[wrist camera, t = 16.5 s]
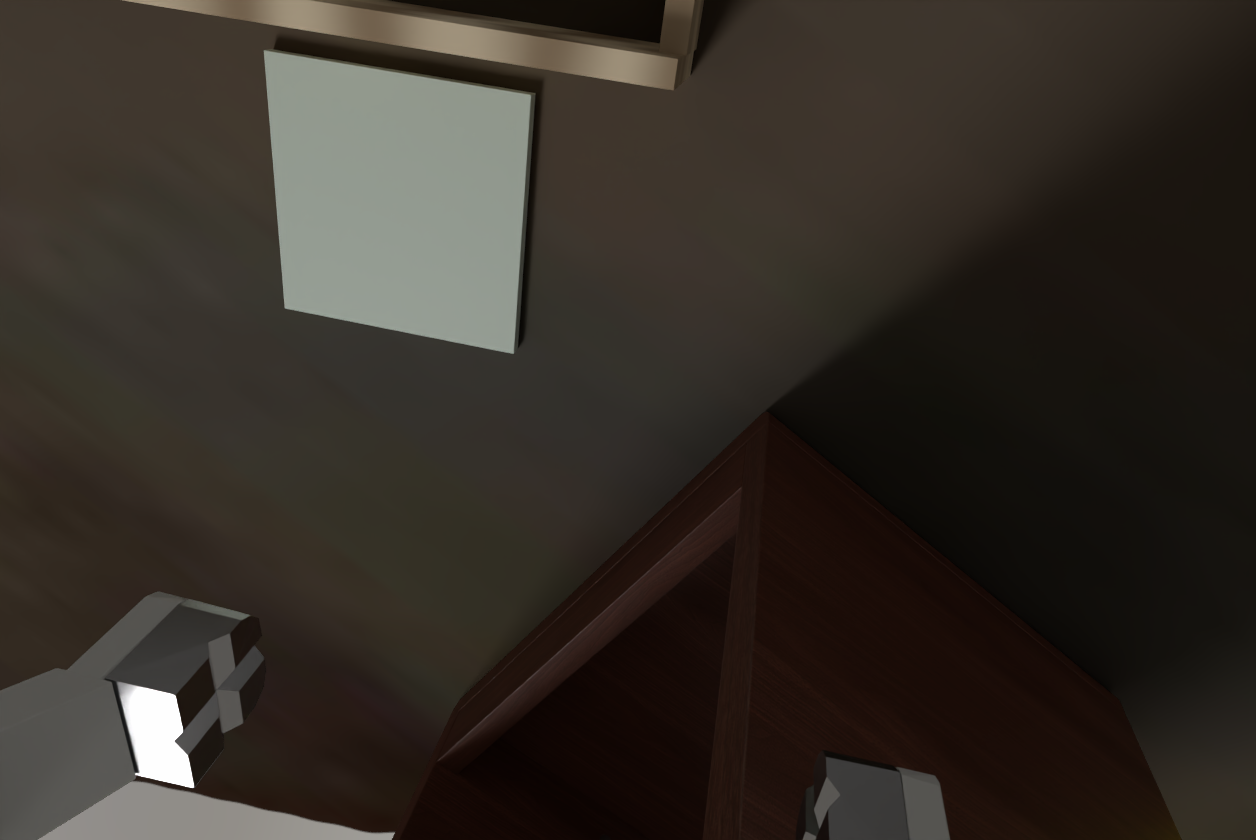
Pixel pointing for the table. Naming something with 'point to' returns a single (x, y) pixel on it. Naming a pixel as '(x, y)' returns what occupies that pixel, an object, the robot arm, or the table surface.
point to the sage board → (401, 197)
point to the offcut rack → (483, 35)
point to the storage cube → (779, 683)
